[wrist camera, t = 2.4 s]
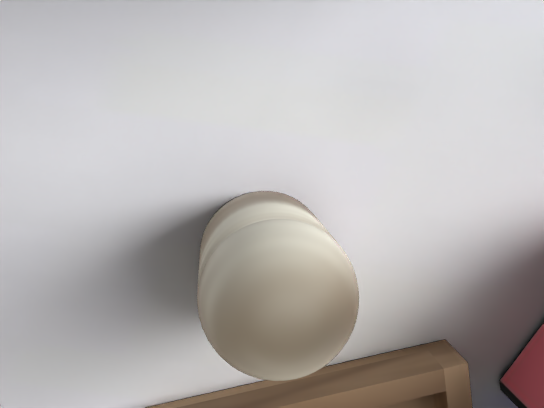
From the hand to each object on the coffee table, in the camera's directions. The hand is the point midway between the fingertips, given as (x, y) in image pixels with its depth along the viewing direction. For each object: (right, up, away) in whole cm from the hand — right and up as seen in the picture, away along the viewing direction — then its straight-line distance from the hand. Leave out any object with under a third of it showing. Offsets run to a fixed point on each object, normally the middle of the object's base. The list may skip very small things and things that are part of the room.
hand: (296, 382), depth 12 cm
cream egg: (-1, +2, +8) cm, 9 cm away
